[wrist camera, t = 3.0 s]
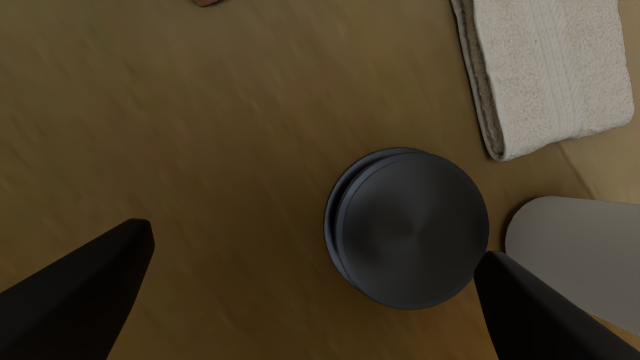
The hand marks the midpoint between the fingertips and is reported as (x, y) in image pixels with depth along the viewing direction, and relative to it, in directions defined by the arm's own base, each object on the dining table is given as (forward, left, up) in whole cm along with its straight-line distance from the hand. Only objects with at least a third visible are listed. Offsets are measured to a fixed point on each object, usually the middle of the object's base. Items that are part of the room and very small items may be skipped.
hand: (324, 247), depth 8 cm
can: (-5, -19, -15) cm, 25 cm away
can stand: (-3, -7, -15) cm, 17 cm away
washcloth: (+11, -19, -15) cm, 27 cm away
